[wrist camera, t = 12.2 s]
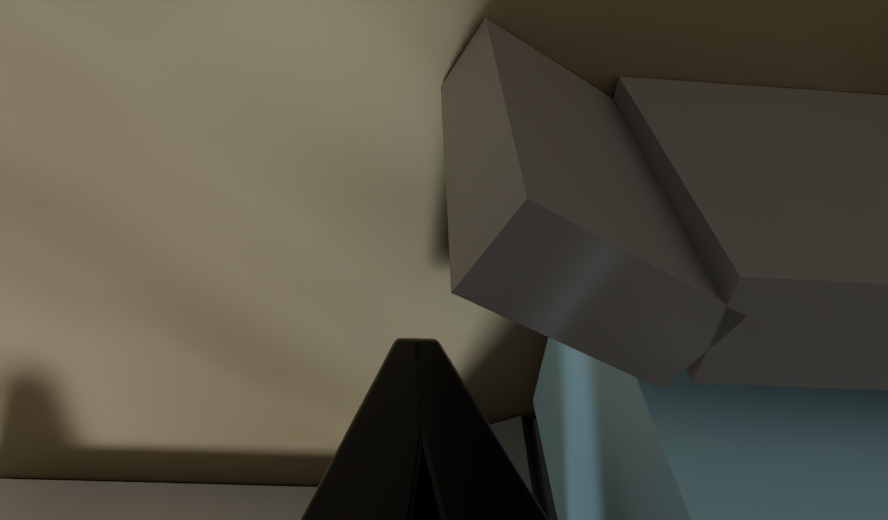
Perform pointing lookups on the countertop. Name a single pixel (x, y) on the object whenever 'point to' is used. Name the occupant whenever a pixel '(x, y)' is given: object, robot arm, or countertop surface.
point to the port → (668, 224)
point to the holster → (148, 501)
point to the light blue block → (707, 447)
